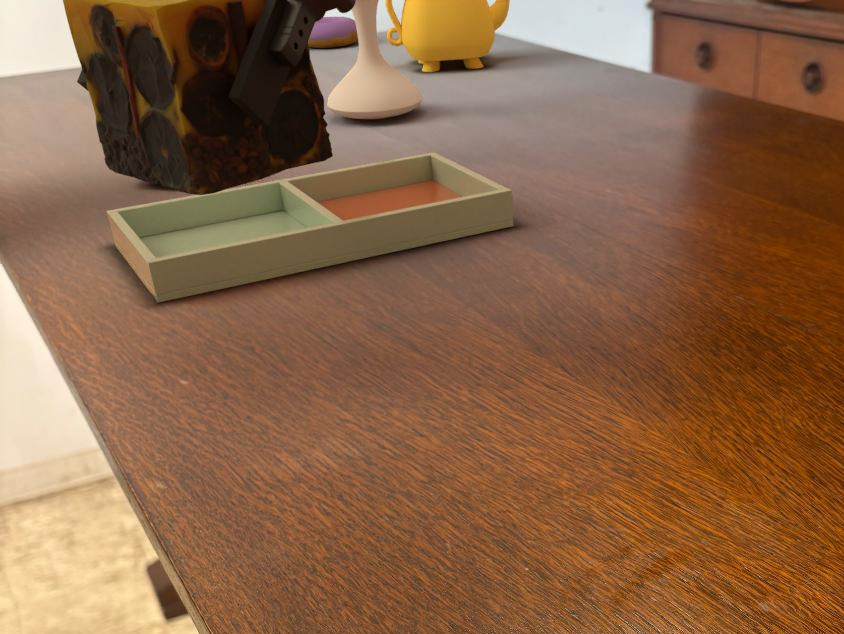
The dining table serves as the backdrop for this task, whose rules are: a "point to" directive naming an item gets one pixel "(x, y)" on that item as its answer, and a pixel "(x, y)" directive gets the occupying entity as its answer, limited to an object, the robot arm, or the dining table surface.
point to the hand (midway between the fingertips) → (170, 104)
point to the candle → (189, 94)
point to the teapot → (447, 30)
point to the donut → (333, 32)
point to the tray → (304, 223)
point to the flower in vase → (372, 77)
